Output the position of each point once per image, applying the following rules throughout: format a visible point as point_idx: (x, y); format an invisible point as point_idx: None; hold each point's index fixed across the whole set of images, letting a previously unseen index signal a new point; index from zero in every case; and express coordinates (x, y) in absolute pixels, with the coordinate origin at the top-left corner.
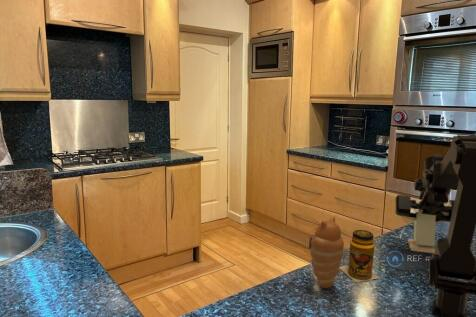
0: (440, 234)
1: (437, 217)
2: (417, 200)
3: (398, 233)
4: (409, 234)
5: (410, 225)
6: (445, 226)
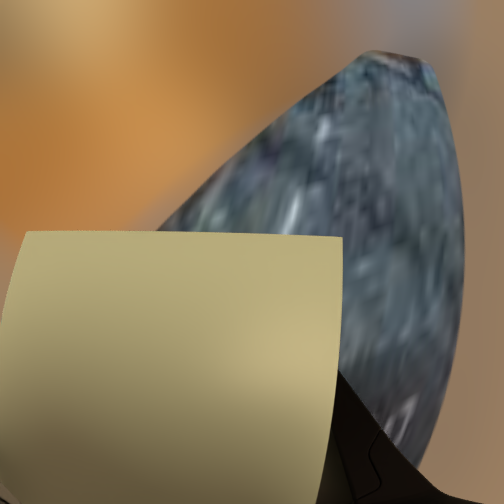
0: (370, 188)
1: (322, 490)
2: (33, 259)
3: (187, 230)
4: (235, 226)
5: (264, 133)
6: (387, 119)
